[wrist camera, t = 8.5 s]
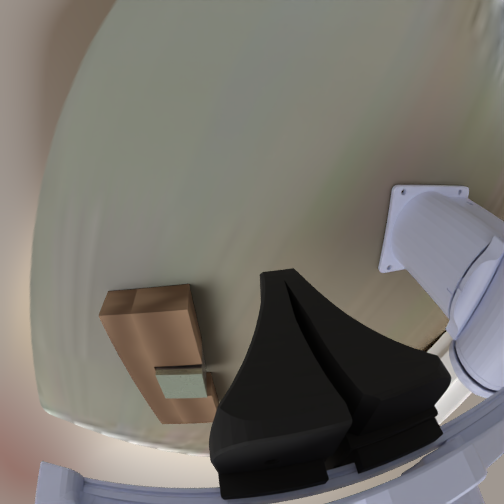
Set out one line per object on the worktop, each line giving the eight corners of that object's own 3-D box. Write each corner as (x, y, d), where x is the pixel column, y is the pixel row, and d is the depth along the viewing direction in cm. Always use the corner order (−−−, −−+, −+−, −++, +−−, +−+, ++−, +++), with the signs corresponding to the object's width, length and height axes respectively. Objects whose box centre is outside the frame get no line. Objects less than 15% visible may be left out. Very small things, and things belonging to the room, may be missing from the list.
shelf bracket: (348, 385, 34) (398, 452, 23) (468, 269, 34) (528, 309, 23) (358, 397, 37) (402, 456, 26) (468, 291, 37) (521, 329, 26)
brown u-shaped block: (189, 283, 22) (187, 309, 19) (218, 400, 31) (220, 421, 29) (108, 291, 21) (98, 315, 19) (163, 403, 31) (162, 423, 28)
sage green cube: (201, 339, 25) (201, 373, 22) (205, 365, 28) (207, 397, 24) (159, 341, 25) (155, 375, 22) (167, 366, 27) (165, 398, 24)
